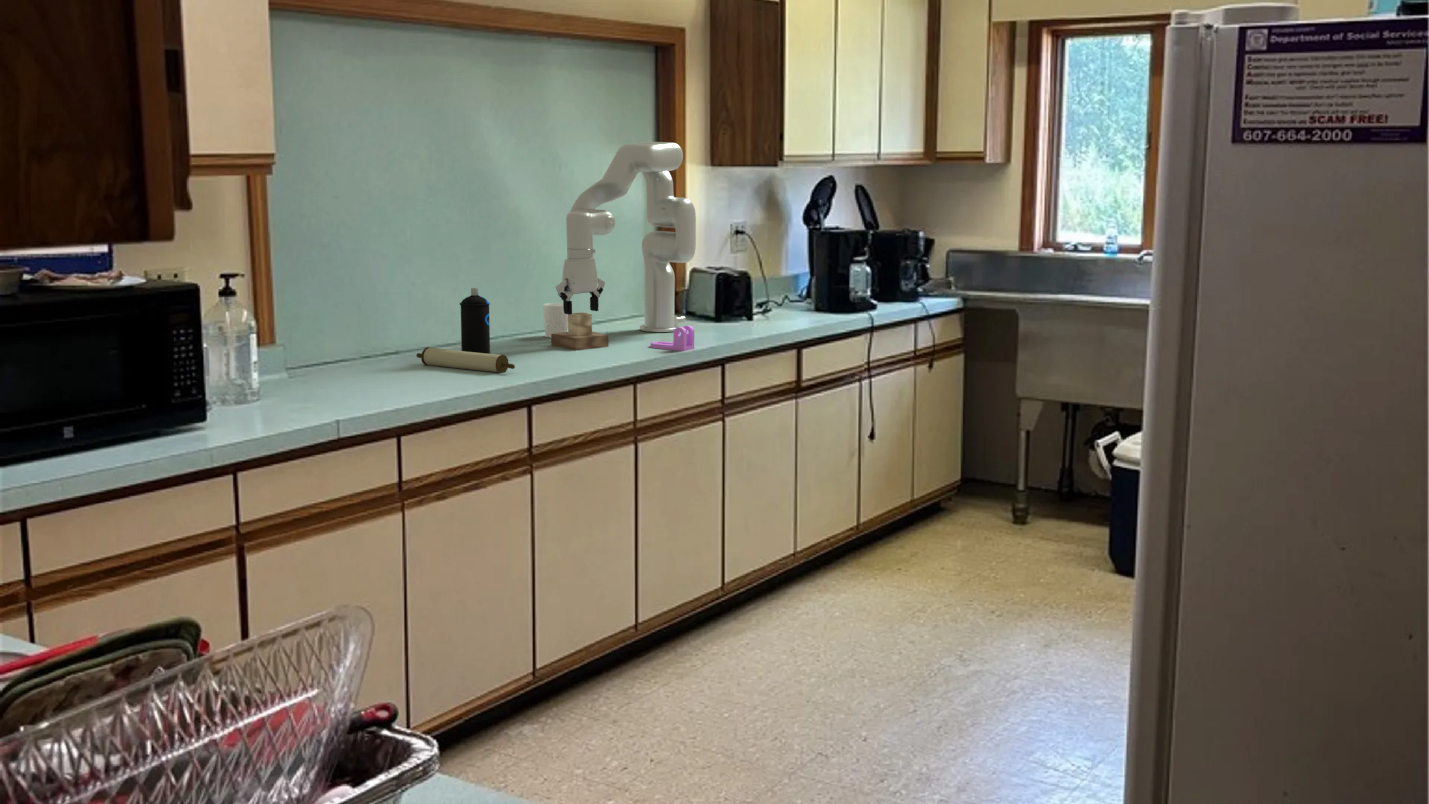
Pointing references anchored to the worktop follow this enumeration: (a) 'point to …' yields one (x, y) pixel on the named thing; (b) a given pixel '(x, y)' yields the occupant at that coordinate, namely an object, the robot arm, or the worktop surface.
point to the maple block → (580, 324)
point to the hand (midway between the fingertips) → (581, 312)
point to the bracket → (678, 340)
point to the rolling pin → (465, 360)
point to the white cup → (554, 319)
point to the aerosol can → (475, 324)
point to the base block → (579, 341)
